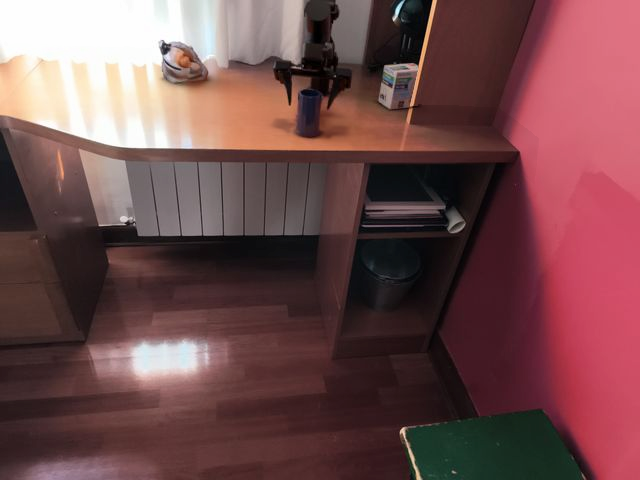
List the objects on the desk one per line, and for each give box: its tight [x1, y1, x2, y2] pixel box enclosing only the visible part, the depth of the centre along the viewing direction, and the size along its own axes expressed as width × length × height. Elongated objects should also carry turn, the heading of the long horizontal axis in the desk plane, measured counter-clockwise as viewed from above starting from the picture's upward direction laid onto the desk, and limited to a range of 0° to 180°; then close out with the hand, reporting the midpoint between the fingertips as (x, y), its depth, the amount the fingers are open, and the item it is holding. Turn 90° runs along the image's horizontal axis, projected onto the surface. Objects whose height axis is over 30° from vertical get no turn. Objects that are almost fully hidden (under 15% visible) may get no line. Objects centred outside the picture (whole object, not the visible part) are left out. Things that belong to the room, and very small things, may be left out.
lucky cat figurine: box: [157, 39, 209, 84], centre depth 133 cm, size 15×12×14 cm
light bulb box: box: [377, 62, 419, 110], centre depth 132 cm, size 11×7×11 cm, turn 117°
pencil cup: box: [295, 88, 323, 138], centre depth 111 cm, size 6×6×10 cm
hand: (308, 107), depth 109 cm, fingers open, 9 cm apart
